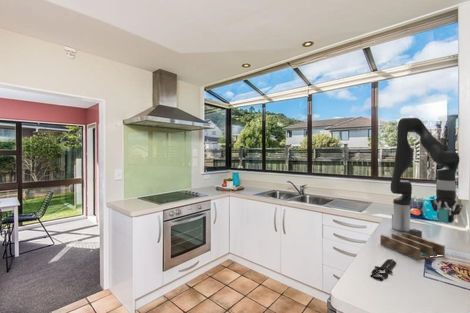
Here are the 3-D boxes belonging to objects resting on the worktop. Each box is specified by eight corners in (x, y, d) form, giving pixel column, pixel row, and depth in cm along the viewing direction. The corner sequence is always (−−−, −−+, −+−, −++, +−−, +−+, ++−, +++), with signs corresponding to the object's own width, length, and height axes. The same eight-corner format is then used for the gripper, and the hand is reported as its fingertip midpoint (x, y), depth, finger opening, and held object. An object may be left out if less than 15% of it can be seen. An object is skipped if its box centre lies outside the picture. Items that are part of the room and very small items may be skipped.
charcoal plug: (409, 241, 129) (409, 229, 129) (414, 240, 130) (414, 228, 130) (416, 244, 125) (416, 231, 125) (421, 243, 126) (421, 231, 126)
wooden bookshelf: (380, 243, 125) (380, 234, 125) (404, 241, 129) (404, 232, 129) (417, 259, 105) (417, 249, 105) (444, 255, 110) (444, 245, 110)
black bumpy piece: (389, 259, 106) (389, 256, 106) (405, 264, 101) (405, 261, 101) (365, 276, 91) (365, 272, 91) (383, 283, 86) (383, 279, 86)
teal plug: (438, 221, 120) (438, 208, 120) (443, 220, 121) (443, 208, 121) (447, 223, 116) (447, 210, 116) (452, 223, 117) (452, 209, 117)
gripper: (425, 187, 124) (425, 217, 124) (457, 191, 110) (456, 225, 110) (435, 186, 126) (435, 217, 126) (467, 190, 112) (467, 224, 112)
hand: (445, 220), depth 118 cm, fingers closed on teal plug, 4 cm apart
